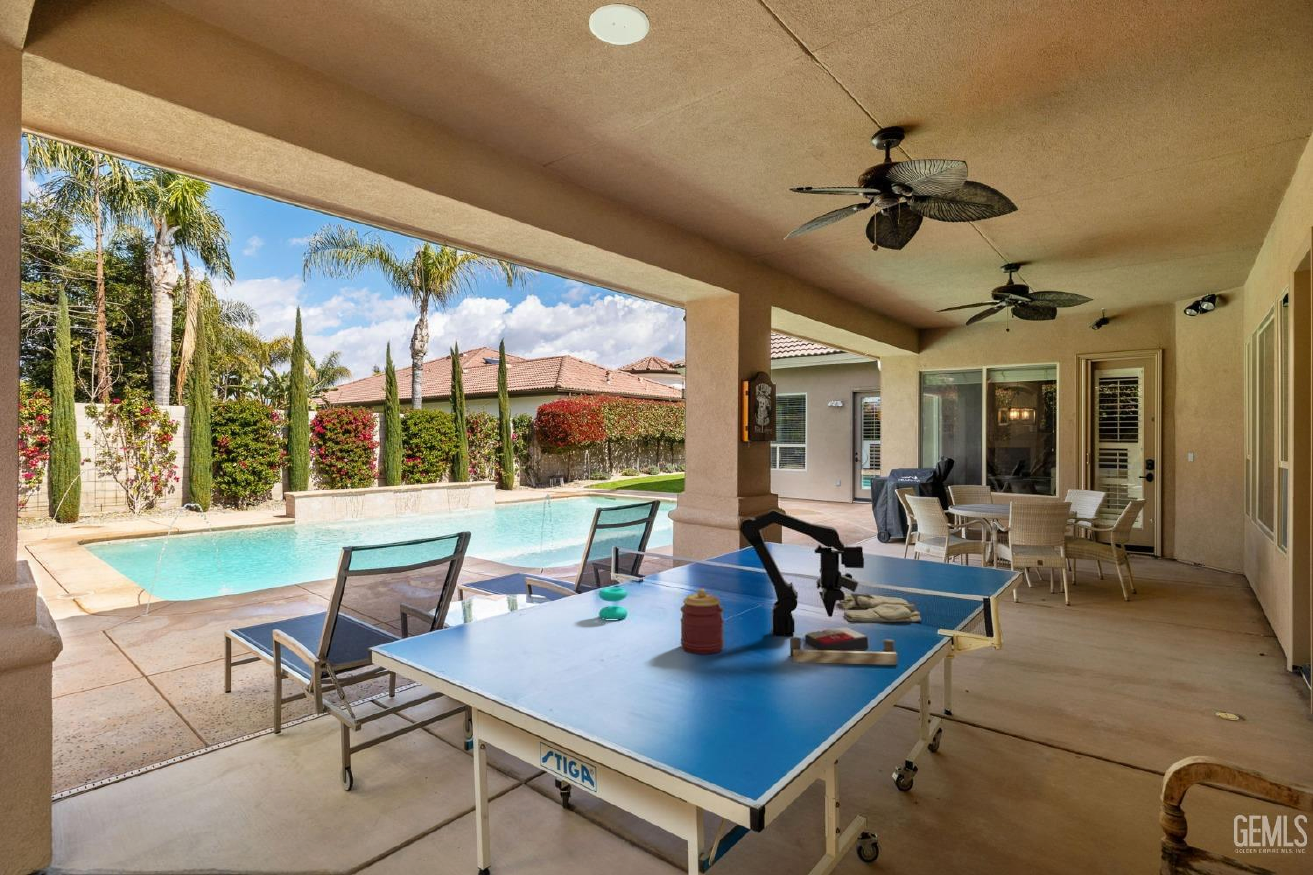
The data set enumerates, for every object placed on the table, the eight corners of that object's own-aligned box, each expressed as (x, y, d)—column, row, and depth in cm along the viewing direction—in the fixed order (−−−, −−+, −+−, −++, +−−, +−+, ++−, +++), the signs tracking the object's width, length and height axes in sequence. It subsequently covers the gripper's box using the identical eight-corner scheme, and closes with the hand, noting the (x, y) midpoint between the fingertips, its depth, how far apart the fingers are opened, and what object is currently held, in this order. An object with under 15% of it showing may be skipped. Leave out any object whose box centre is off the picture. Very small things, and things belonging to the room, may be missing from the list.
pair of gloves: (835, 602, 253) (835, 588, 253) (904, 604, 249) (904, 590, 249) (847, 624, 223) (847, 608, 223) (926, 626, 219) (926, 610, 219)
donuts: (631, 590, 230) (604, 593, 226) (631, 619, 230) (604, 622, 226) (620, 585, 239) (594, 588, 235) (621, 612, 239) (595, 616, 235)
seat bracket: (791, 661, 184) (791, 644, 184) (789, 654, 190) (789, 636, 190) (899, 664, 180) (898, 646, 180) (893, 656, 187) (892, 639, 187)
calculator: (804, 632, 201) (846, 624, 206) (805, 646, 201) (846, 638, 206) (824, 642, 190) (868, 634, 195) (825, 657, 190) (868, 648, 195)
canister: (732, 647, 197) (732, 588, 198) (705, 657, 188) (705, 596, 188) (699, 638, 206) (698, 582, 206) (671, 648, 197) (671, 589, 197)
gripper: (861, 573, 198) (862, 625, 198) (850, 562, 217) (850, 609, 216) (823, 572, 199) (824, 624, 199) (816, 561, 218) (816, 608, 218)
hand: (830, 616), depth 208 cm, fingers closed
